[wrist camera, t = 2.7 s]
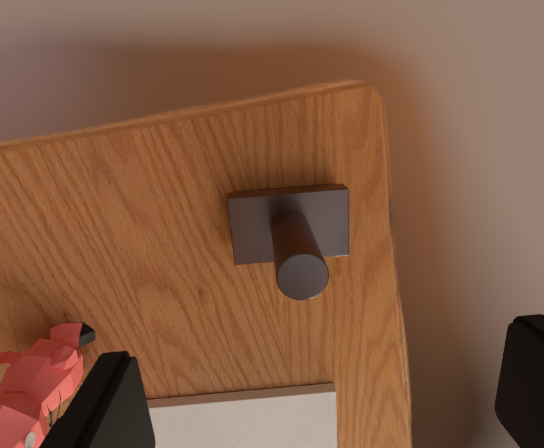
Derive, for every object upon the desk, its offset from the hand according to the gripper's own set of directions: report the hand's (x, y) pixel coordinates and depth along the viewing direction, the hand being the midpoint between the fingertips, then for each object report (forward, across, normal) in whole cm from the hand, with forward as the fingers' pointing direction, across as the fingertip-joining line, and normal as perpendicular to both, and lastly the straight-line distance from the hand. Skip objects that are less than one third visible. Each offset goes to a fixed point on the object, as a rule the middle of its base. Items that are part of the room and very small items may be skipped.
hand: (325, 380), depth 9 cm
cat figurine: (+17, +18, +10) cm, 26 cm away
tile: (+17, +5, +24) cm, 30 cm away
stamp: (+17, 0, +1) cm, 17 cm away
